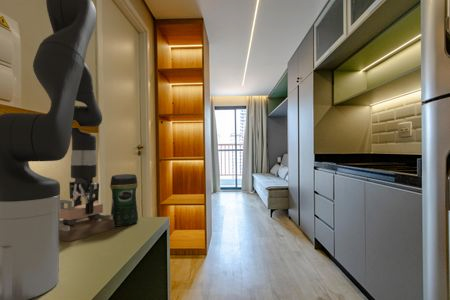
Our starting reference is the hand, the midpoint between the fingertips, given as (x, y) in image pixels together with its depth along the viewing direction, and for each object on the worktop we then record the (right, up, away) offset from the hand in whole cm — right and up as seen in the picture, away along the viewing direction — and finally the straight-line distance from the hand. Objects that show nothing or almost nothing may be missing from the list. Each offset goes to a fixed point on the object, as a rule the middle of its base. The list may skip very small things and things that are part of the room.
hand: (83, 212), depth 77 cm
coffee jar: (+10, -7, +8) cm, 15 cm away
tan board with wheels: (0, -3, -1) cm, 3 cm away
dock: (0, -6, -1) cm, 6 cm away
